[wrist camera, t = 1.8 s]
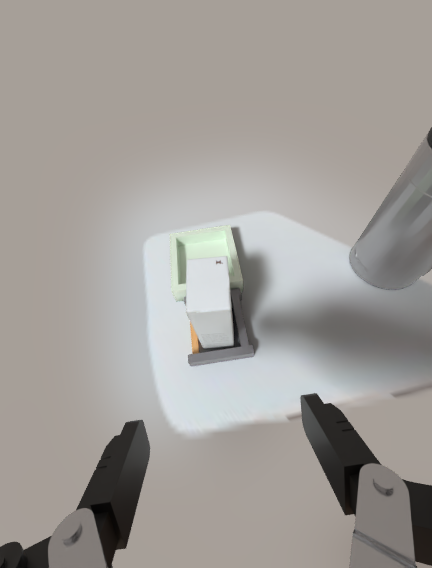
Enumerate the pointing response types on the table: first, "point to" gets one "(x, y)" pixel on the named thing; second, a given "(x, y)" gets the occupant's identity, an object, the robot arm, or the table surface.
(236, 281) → the parts tray
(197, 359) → the grey shallow square tray
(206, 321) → the skincare box
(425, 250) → the robot arm
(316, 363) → the table surface
